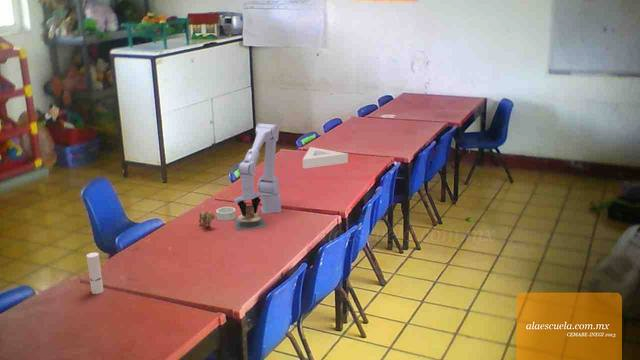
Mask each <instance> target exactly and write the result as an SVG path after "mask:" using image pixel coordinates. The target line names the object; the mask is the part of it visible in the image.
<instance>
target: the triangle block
mask: <svg viewBox="0 0 640 360" xmlns="http://www.w3.org/2000/svg"><path fill="white" fill-rule="evenodd" d="M347 163H349V154H348V153H347V152H346V153H345V152H340V151H335V150H330V149H329V150H328V149H324V148H320V147H319V148H318V147H312V146H309V148H308V150H307V151H306V153H305V154H304V156H303V158H302V169H303V168H304V169H310V168H319V167H325V166H331V165H332V166H333V165H340V164H347Z"/></svg>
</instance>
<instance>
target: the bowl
mask: <svg viewBox="0 0 640 360" xmlns="http://www.w3.org/2000/svg"><path fill="white" fill-rule="evenodd" d="M215 211H216V215H215V216H216V219H217V220H218V221H222V222H224V221H225V222H226V221H232V220H235V219H236V218H237V215H236V212H237V211H236V208H235V207H232V206H222V207H219V208H217V209H216V210H215Z"/></svg>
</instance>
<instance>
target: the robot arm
mask: <svg viewBox="0 0 640 360" xmlns="http://www.w3.org/2000/svg"><path fill="white" fill-rule="evenodd" d="M279 135H280V128H279V127H278V125H277V124H276V123H275V124H270V123H261V122H259V123H257V125H256V126H255V139H254V141H253V144H252V145H251V148H250V149H248V150H247V153H246V154H245V157H244V159H243V160H242V161H241V162H240V163H239V164H238V167H237V171H238V172H237V173H238V174H239V177H240V181H241V195H240V196H238V197H236V198H233V203H234V204H237V206H238V208H239V209H240V212H241V214H242V215H243V216H246V206H247V203H246V201H250V200H251V205H253V207H254V213H255V214H256V213H258V207H259V204H260V203H261V207H260V211H261V213H262V214H270V213H271V214H272V213H280V212H282V198H281V193H280V192H279V190H280V179H279V178H278V176H276V175H275V165H276V164H275V161H276V151H277V150H276V148H277V147H276V146H277V142H278V141H279ZM264 143H265V147H264V149H265V150H264V160H263V161H264V163H263V174H262V175H261V176H259V177H258V183H257V186H256V188H257V191H258V192H255V183H254V180H255V179H254V174H255V173H256V169H257V168H256V167H257V162H258V160H259V158H260V155H261V154H260V150H261V148H262V146H263V145H264Z"/></svg>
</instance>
